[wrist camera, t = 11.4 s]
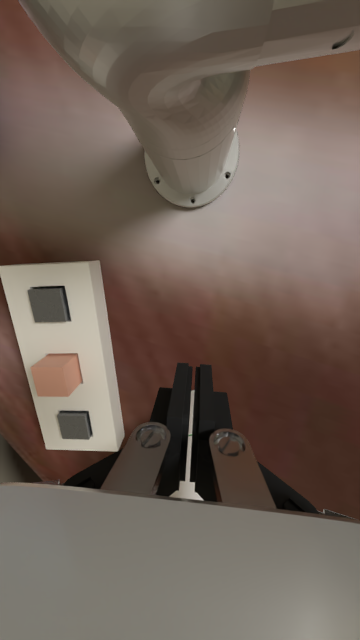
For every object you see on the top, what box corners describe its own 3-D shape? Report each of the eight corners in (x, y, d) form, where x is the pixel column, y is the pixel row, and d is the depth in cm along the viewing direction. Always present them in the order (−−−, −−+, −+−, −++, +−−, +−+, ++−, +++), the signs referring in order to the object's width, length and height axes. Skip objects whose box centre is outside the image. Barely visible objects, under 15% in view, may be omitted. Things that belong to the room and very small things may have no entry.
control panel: (58, 433, 50) (46, 449, 46) (17, 264, 40) (-3, 266, 36) (124, 435, 48) (118, 451, 45) (99, 260, 38) (88, 262, 35)
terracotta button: (50, 352, 41) (30, 367, 36) (78, 352, 40) (62, 367, 35) (56, 379, 42) (37, 396, 37) (83, 379, 42) (68, 396, 37)
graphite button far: (71, 398, 47) (56, 415, 42) (96, 398, 46) (84, 416, 42) (76, 419, 48) (62, 438, 44) (100, 420, 48) (89, 439, 43)
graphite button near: (47, 284, 40) (27, 289, 36) (76, 283, 40) (59, 288, 35) (53, 313, 42) (34, 322, 37) (81, 312, 41) (65, 321, 37)
